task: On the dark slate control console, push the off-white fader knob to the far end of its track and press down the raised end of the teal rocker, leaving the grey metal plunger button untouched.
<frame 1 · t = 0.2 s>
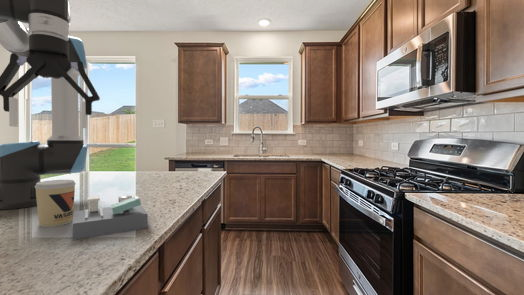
hand: (50, 127, 64), 27 cm above the countertop, fingers open, 13 cm apart
slider: (93, 204, 76), point 6 cm above the countertop, slide at 0.0 cm
plunger: (125, 201, 80), point 6 cm above the countertop, slide at 0.0 cm
rocker: (125, 204, 74), point 6 cm above the countertop, hinge at 15.0°
console: (111, 226, 75), on the countertop
coffee cup: (56, 223, 78), on the countertop
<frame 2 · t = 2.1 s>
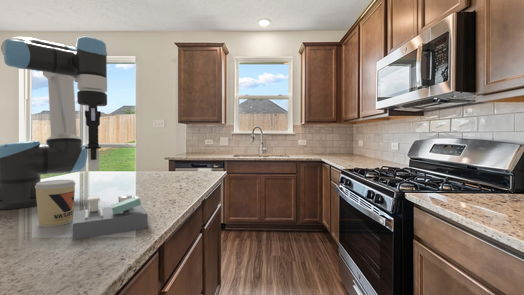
hand: (93, 170, 80), 15 cm above the countertop, fingers closed
nothing on the countertop moved.
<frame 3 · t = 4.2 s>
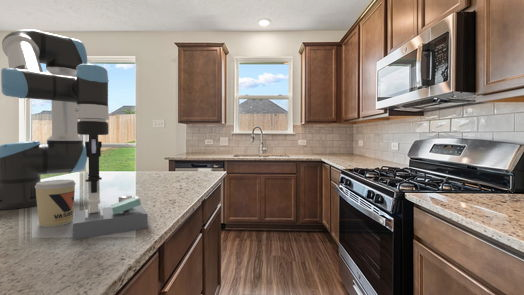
hand: (94, 203, 76), 6 cm above the countertop, fingers closed
slider: (93, 205, 74), point 6 cm above the countertop, slide at 1.6 cm, touching gripper
everything else where it was.
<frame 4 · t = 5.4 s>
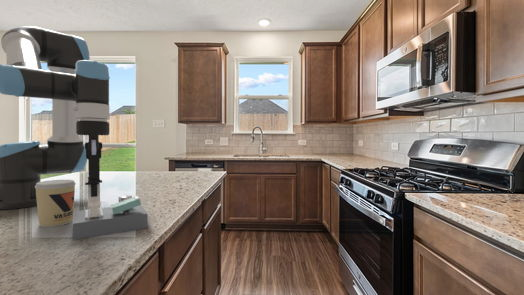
hand: (94, 207, 72), 6 cm above the countertop, fingers closed
slider: (94, 209, 70), point 6 cm above the countertop, slide at 6.4 cm, touching gripper
everything else where it was.
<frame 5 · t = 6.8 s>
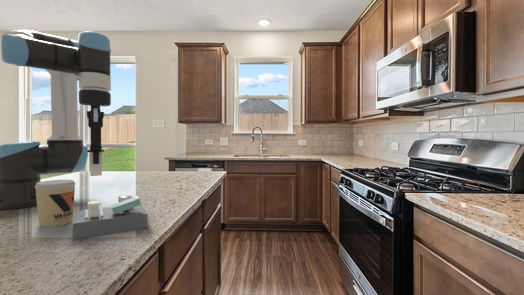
hand: (96, 175, 75), 14 cm above the countertop, fingers closed
slider: (94, 209, 70), point 6 cm above the countertop, slide at 6.4 cm
everything else where it was.
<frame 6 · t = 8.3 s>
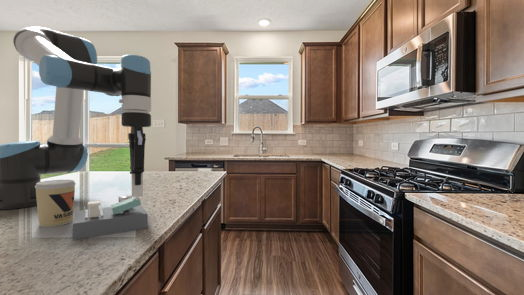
hand: (137, 195, 76), 9 cm above the countertop, fingers closed
rocker: (125, 204, 74), point 6 cm above the countertop, hinge at 15.0°, touching gripper
everything else where it was.
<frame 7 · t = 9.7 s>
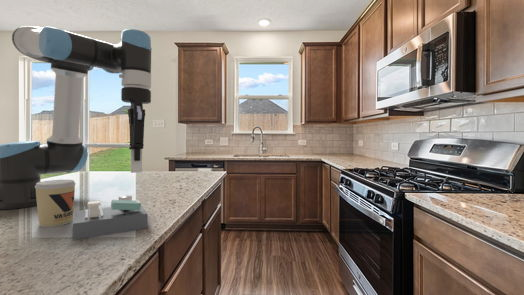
hand: (136, 172, 76), 15 cm above the countertop, fingers closed
rocker: (126, 204, 74), point 6 cm above the countertop, hinge at -8.8°
everything else where it was.
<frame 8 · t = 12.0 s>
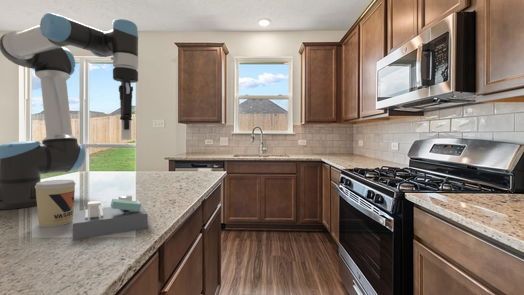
hand: (126, 139, 90), 24 cm above the countertop, fingers closed
rocker: (126, 204, 74), point 6 cm above the countertop, hinge at -13.5°
everything else where it was.
at the end: slider slide at 6.4 cm; rocker at -14° (first picture: +15°); plunger slide at 0.0 cm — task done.
